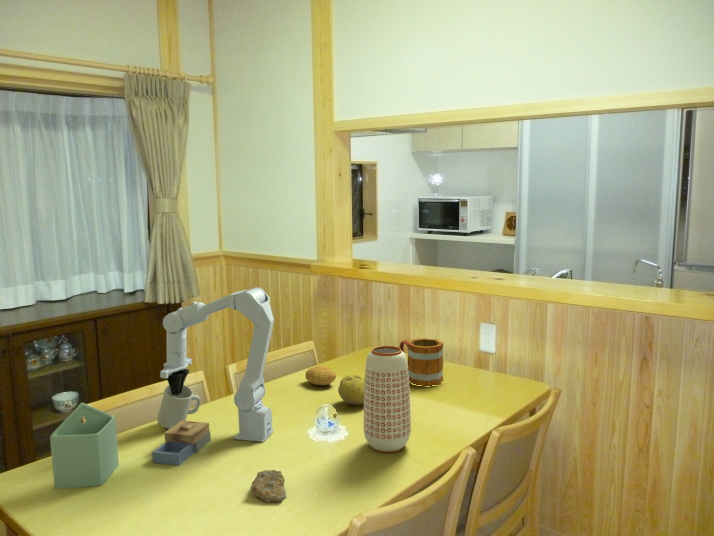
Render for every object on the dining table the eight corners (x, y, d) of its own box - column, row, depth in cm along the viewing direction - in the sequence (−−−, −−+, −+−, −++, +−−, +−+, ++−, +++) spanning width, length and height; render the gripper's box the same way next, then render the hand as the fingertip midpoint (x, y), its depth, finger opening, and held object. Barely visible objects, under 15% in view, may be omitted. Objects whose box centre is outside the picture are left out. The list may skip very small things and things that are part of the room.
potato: (323, 378, 227) (322, 360, 226) (341, 386, 216) (341, 368, 215) (302, 382, 221) (301, 365, 220) (320, 392, 211) (319, 373, 210)
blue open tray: (194, 452, 163) (194, 442, 163) (179, 465, 156) (178, 454, 155) (169, 449, 165) (168, 439, 165) (152, 462, 158) (152, 452, 157)
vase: (415, 439, 170) (415, 345, 166) (404, 459, 157) (403, 358, 153) (372, 434, 174) (370, 341, 170) (357, 453, 161) (356, 354, 158)
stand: (210, 440, 171) (210, 430, 171) (197, 452, 163) (196, 442, 163) (181, 437, 173) (180, 428, 173) (166, 449, 165) (166, 439, 165)
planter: (67, 498, 140) (60, 419, 137) (54, 488, 145) (47, 411, 142) (132, 473, 152) (127, 400, 149) (117, 464, 157) (112, 393, 154)
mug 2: (450, 381, 220) (451, 342, 218) (427, 390, 211) (427, 349, 209) (412, 370, 235) (412, 333, 233) (388, 377, 226) (388, 340, 224)
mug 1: (160, 430, 177) (168, 399, 174) (154, 413, 184) (162, 383, 181) (198, 428, 184) (207, 398, 181) (191, 412, 190) (199, 383, 187)
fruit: (332, 408, 195) (332, 379, 194) (346, 396, 206) (345, 369, 205) (363, 412, 191) (363, 382, 190) (376, 400, 202) (375, 372, 200)
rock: (249, 486, 145) (248, 499, 135) (254, 462, 145) (254, 474, 135) (283, 492, 146) (285, 505, 136) (288, 468, 146) (291, 480, 137)
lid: (209, 430, 171) (208, 420, 170) (193, 443, 162) (193, 432, 161) (181, 428, 173) (181, 417, 172) (164, 440, 164) (164, 430, 164)
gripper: (177, 343, 184) (177, 384, 186) (150, 355, 170) (151, 400, 172) (197, 345, 182) (197, 387, 184) (172, 358, 168) (172, 403, 170)
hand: (176, 393), depth 178 cm, fingers closed, pressing on mug 1
